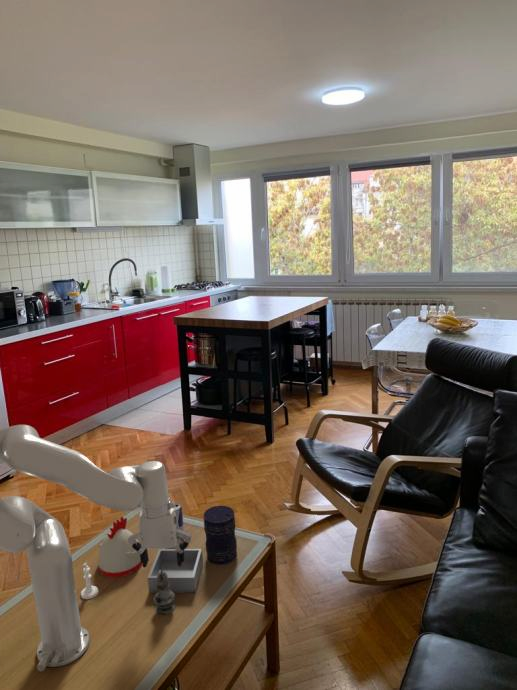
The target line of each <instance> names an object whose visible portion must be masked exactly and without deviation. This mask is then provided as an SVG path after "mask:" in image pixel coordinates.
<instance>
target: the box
mask: <svg viewBox="0 0 517 690" xmlns="http://www.w3.org/2000/svg"><path fill="white" fill-rule="evenodd" d="M177 552H178V551H176V550H175V549H174V548H158V551H157V553H156V556H155V559H153V560H154V561H153V563H152V565H151V567H150V568H151V569H150V570H149V573H148V576H147V586H148V592H149V594H152V593H153V594H157V593H158V589H157V584H158V582H157V575H158V574H159V573H160V572H161V570H162V571H163V572H165V573H167V577H168V582H169V583H170V585H169V590H171V591H173V592H174V594H179V593H181V594H182V593H185V594H187V593H189V594H191V593H192V594H195V593H196V591H197V588H198V583H199V580H200V577H201V572H202V568H203V564H204V559H203V557H204V556H203V549H202V548H186V549H185V550H184V562H182V564H181V566H178V561H177Z"/></svg>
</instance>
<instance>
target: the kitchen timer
mask: <svg viewBox="0 0 517 690" xmlns="http://www.w3.org/2000/svg"><path fill="white" fill-rule="evenodd" d="M127 522H128V518H127V517H122V516H120V520H119V519H116V521H113V522H112V527H109V530H110V531H109V532H108V533H107V534H106V536H105V537H104V539H103V540H102V543H99V545H98V546H99V553H98V560H97V563H98V565H97V566H98V570H99V572H101V573H100V574H102V575H103V576H105V577H108V578H120V577H121V578H122V577H125V576H128V575H130V574H132V573H135V572H136V571H137V570H139V569H140V568H141V567H142V566H143V563H141V559H140V554H138V551H136V550H135V549H134V548H133V547H132V545H131V544H130V543H129V541H128V538H129V536H131V535H133V534H134V533H133V532H131V531H130V530H128V529H126V526H127ZM136 541H137V542H139V540H138V539H136Z"/></svg>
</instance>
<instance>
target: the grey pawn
mask: <svg viewBox="0 0 517 690" xmlns="http://www.w3.org/2000/svg"><path fill="white" fill-rule="evenodd" d="M157 582H158V584H157V589H158V593H155V595H154V596H153V602H154V604H155V605H156V607H155V612H156V614H157V615H159V616H167V615H170V614H171V613H173V612H174V610H175V609H176V605H175V603H174V601H175V598H176V593H174V592H173V591H171V590H169V585H170V583H169V582H168V577H167V573H165V572H163V571H162V570H161V572H160V573H159V574H158V575H157Z"/></svg>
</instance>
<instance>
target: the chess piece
mask: <svg viewBox="0 0 517 690" xmlns="http://www.w3.org/2000/svg"><path fill="white" fill-rule="evenodd" d="M82 566H83V567H84V568H83V569H82V572H83V574H84V575H83V580H85V587H84V588H83V589H82V590H81V592H80V597H81V599H83V600H89V599H93V598H95V597H96V596H97V595H98V594H99V589H98V587H97V586H95V585H92V582H91V577H92V574H91V573H90V571H91V567H90V566H89V565H87V562H84V564H83V565H82Z"/></svg>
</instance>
